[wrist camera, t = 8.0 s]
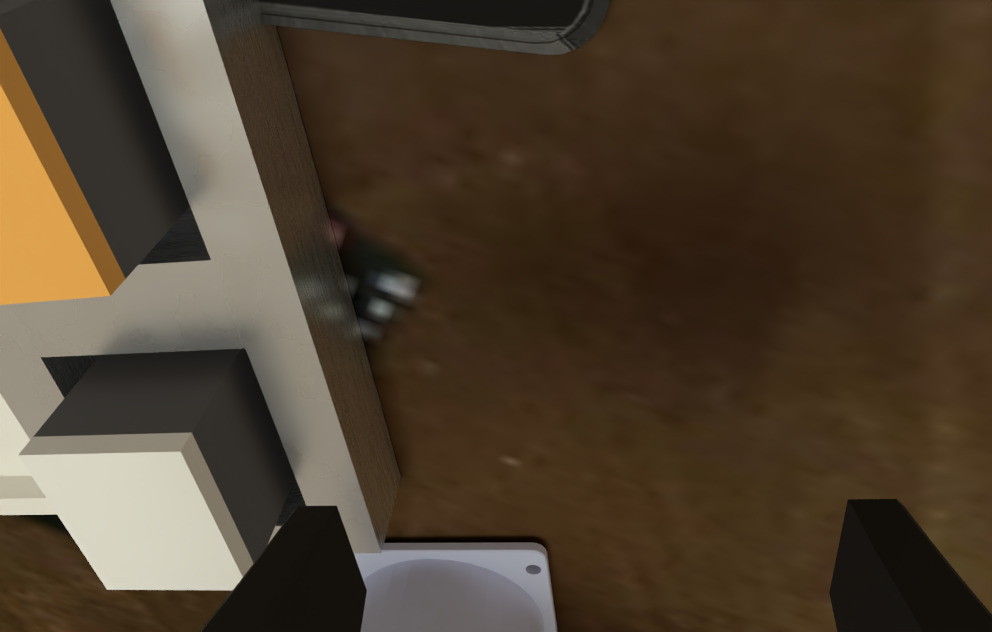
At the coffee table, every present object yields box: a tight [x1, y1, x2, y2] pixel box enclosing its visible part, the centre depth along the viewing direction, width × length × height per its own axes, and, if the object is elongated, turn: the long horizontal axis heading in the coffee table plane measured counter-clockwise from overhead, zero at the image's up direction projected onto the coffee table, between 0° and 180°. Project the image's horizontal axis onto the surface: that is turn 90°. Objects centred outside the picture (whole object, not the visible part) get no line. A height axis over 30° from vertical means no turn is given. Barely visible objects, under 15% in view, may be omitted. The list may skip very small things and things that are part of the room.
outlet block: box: [0, 0, 401, 553], centre depth 20 cm, size 18×9×3 cm, turn 7°
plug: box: [0, 0, 190, 305], centre depth 16 cm, size 5×4×5 cm
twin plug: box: [18, 349, 295, 590], centre depth 21 cm, size 5×4×5 cm
